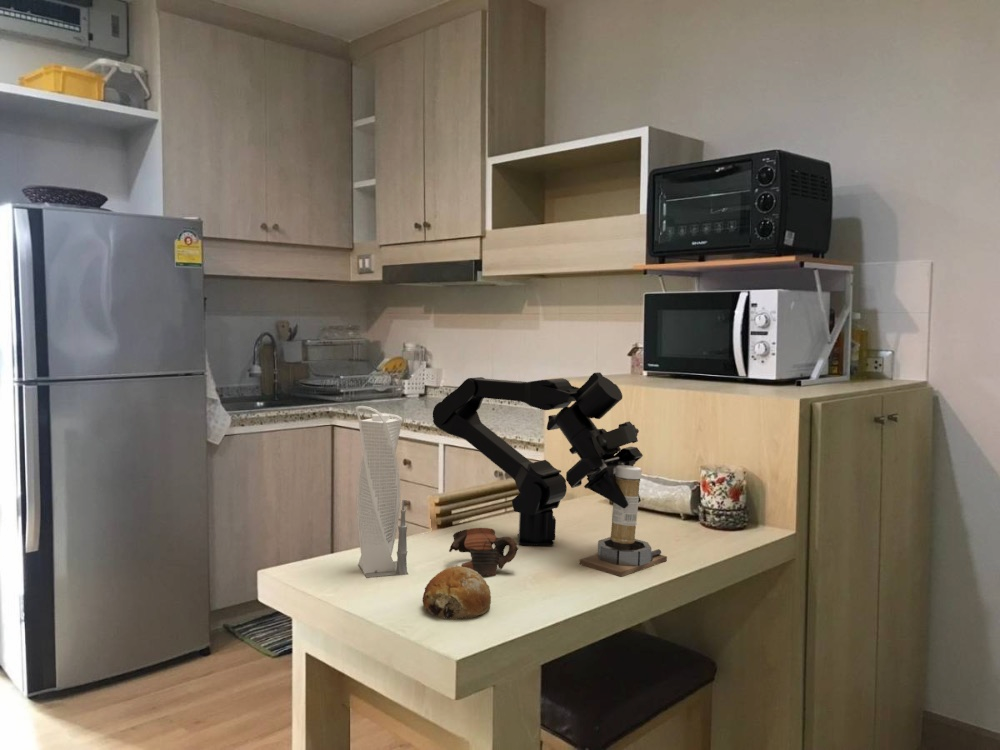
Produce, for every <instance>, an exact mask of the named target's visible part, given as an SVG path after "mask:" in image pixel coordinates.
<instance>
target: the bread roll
mask: <svg viewBox="0 0 1000 750" xmlns="http://www.w3.org/2000/svg"><path fill="white" fill-rule="evenodd" d="M421 601H422V605H423V607H424V609H425V610H426V612H427V613H429V614H431V615H432V616H434V617H438V618H441V619H447V620H448V619H449V620H463V619H475V618H476V617H478V616H482V615H483V614H485V613H486V612H488V611H489V610H490V608H491V603H492V596H491V589H490V585H489V584H488V583H487V581H486V580H485V579H484V577H483V575H480V574H478V572H476V571H474V570H473V569H470V568H466V567H462V566H461V565H455V566H449V567H447V568H445V569H443V570H442V571H440V572H438V573H436V575H434V577H432V578H431V579H430V580H429V582H428V583H427V584H426V586H425V587H424V593H423V595H422V600H421Z"/></svg>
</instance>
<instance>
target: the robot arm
mask: <svg viewBox="0 0 1000 750" xmlns="http://www.w3.org/2000/svg"><path fill="white" fill-rule="evenodd" d="M483 399H491V400H492V399H493V400H501V401H502V400H503V401H504V400H505V401H513V402H521V403H524V404H526V405H528V406H530V407H533V408H535V409H538V410H542V411H550V410H559V409H560V410H559V412H558V413H556V414H551V415H550V414H549V415H548V420H547V424H546V430H547V431H552V430H553V431H554V430H560V431H561V433H562V435H563V436H564V437H565V438H566V440H567V441H568V443H569V444H570V446H571V447H570V448H569V449H568V450H569V452H570V453H571V454H572V455H574V454H577V456H578V457H579V458H580V460H579V459H578V461H577V462H576V463H575V464H574V465H573V466H571V468H569V469H568V470H567V471H566V475H565V476H563V475H562V474H561V472H562V470H561V469H557V468H555V467H554V466H553V464H551V463H550V462H549V461H548V460H546V459H544V460H543V459H542V460H538V461H534V462H532V461H531V460H529V459H528V458H526V456H524V455H523V453H521V452H519V451H518V450H517V449H516V448H514V447H513V446H511V445H510V444H509V443H508V442H506V441H505V440H504V439H502V438H501V437H500V436H499V435H498V434H496V433H495V432H494V431H492V430H491V429H490V428H489V427H487V426H486V425H485V424H484V423H483V422H482V421H481V419H480V416H479V414H478V410H480V409H481V405H482V403H483ZM621 400H623V393H622V391H621V389H620V388H619V386H618V384H616V383H614V382H613V381H612V380H610V379H609V378H608V377H605V376H604V375H603V374H602V373H601V372H599V371H598V372H593V373H592V374H591V375H590V376H589V378H588V379H587V380H586V382H584V383H583V384H582V385H581V387H578V386H574V385H572V384H571V383H570V380H568V379H566V378H564V377H563V378H562V377H560V378H551V379H548V378H547V379H539V380H532V381H523V380H522V381H521V380H518V381H517V380H507V379H493V378H485V377H483V376H480V377H468V378H466V379H465V380H464V381H462V383H460V385H459V386H458V387H457V388H456V389H455V390H453V391H451V392H450V393H449V394H448V395H446V396H445V397H444V399H442V400H441V401H439V402H438V403H436V404H435V406H434V407H433V411H432V422H433V425H434V426H435V427H436V428H438V430H441V431H442V432H444V433H446V434H449V435H451V436H454V437H457V438H460V439H463V440H465V441H466V442H467V443H469V444H470V446H472V447H474V448H475V449H476V450H477V451H479V452H480V453H481V454H482V455H483V456H484V457H486V458H487V459H488V460H489V461H491V462H492V463H494V464H495V466H497V467H498V468H499V469H501V470H502V471H503V472H504V473H505V474H507V475H508V476H509V477H511V478H512V480H513V481H514V482H515V484H516V488H517V491H518V492H519V494H517V495H516V496H515V497H514V498H513V499H512V500H511V504H512V508H513V511H514V512H515V513H519V515H518V516H519V518H518V533H517V536H516V537H517V540H518V545H520V546H547V547H549V546H551V547H552V546H554V541H555V540H556V521H557V520H556V517H555V516H554V510H553V509H557V508H558V507H559V506H560V503H561V500H563V499H564V497H565V496H566V495H567V494H566V493H567V491H568V490H567V483H568V485H569V486H570V487H571V489H574V488H578V487H580V486H582V484H583V483H582V480H583V479H584V478H585V477H587V478H586V480H587V483H586V484H584V485H583V487H584V488H585V489H588V490H590V491H592V492H594V493H595V494H598V495H599V496H601V497H604V498H605V499H607V500H609V501H610V502H612V503H613V502H614V503H615V504H617V505H619V506H620V507H622V508H626V507H627V506H628V502H627V500H626V498H625V496H624V495H623V493H622V491H621V490H620V488H619V486H618V484H617V483H616V478H615V477H616V476H615V472H616V466H619V465H626V466H634V465H635V464H636V463H637V462H638V461H639V460H640V459H641V458H642V457H643V456H644V455H643V454H642V452H641V451H640V449H639V448H638V447H636V446H628V447H627V446H626V445H629V444H631V443H632V444H635V443H637V442H639V440H638V435H639V432H640V431H639V429H638V428H636V425H635V424H633V423H632V422H631V421H625V422H623V423H619V424H618V428H615V429H611V430H608V431H607V429H605V428H597V425H595V423H594V422H593V420H592V419H595V420H600V419H602V418H603V417H604V416H606V414H608V413H609V412H610V411H611V410H612V409H613V408H615V406H616V405H617V404H618V403H619V402H620V401H621ZM572 402H573V403H572ZM571 403H572V404H571ZM569 405H570V406H569ZM623 446H626V447H623ZM621 447H623V448H621ZM641 500H642V499H641V497H640V495H639V501H638V504H639V503H640V502H641Z"/></svg>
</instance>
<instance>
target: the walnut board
mask: <svg viewBox="0 0 1000 750" xmlns="http://www.w3.org/2000/svg"><path fill="white" fill-rule="evenodd" d="M667 559H668V556H667V555H663V554H660V555H657V556H654V557H653V560H652V561H651V562H649V563H646V564H644V565H641V566H619V565H614V564H611V563H607V562H604V561H601V560H600V559H599V557H598V553H596V554H594V555H590V556H588V557H584V558H581V559H579V565H581V564H582V565H581V566H584V565H585V567H587V566H588V568H591V569H594V570H597V571H601V572H604V573H608V574H610V575H614V576H617V577H625V576H628V575H631V574H633V573H637V572H639V571H641V570H644V569H648V568H650V567H653V566H656V565H659V564H661V563H664V562H667V561H668V560H667Z"/></svg>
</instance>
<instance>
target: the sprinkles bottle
mask: <svg viewBox="0 0 1000 750" xmlns="http://www.w3.org/2000/svg"><path fill="white" fill-rule="evenodd" d="M642 470H643V469H642V468H641V467H638V466H634V465H633V466H626V465H619V466H616V472H615V476H616V477H615V478H616V483H617V484H618V486H619V488H620V490H621V491H622V493H623V495H624V496H625V498H626V500H627V502H628V506H627V507H626V508H622V507H620V506H619V505H617V504H615V503H614V502H612V503H613V504H612V513H611V529H610V536H609V537H610V540H612V541H614V542H617V543H622V544H632V543H634V542H635V539H636V528H637V527H636V525H637V522H638V521H637V520H638V509H639V503H638V501H639V496H640V493H639V492H640V483H641V479H642Z"/></svg>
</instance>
